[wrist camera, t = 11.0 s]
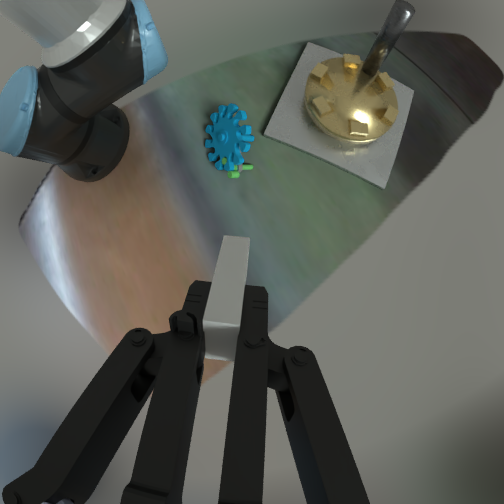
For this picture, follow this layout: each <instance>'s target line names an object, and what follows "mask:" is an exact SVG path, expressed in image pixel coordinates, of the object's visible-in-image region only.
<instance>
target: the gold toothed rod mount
mask: <svg viewBox="0 0 504 504" xmlns="http://www.w3.org/2000/svg"><path fill="white" fill-rule="evenodd" d="M414 13H415V9H414V7H413V6H412V5H411V4H409V3H408V2H406V1H404V0H396V1H395V3H394V5H393V7H392V9H391V11H390V13H389V15H388V17H387V19H386V21H385V23H384V25H383V27H382V28H381V30H380V32H379V34H378V36H377V38H376V40H375V42H374V44H373V46H372V48H371V50H370V52H369V54H368V56H367V58H366V60H365V62H363V61H361V60H360V56H357V55H351V54H344V55H343V57H336V58H331V59H327V60H325V61H323V62H321V63H319V62H318V64H317V65H316V66H315V67H314V68H313V70H312V71H311V72H310V74H309V76H308V78H307V82H306V87H305V92H304V100H305V105H306V109H307V111H308V114H309V115H310V117H311V119H312V120H313V122H314V123H315V124H316V125H317V126H318V127H319V128H320V129H321V130H322V131H323V132H324V133H326V134H327V135H329V136H331V137H332V138H334V139H337V140H339V141H342V142H345V143H350V144H365V143H370V142H372V141H375V140H377V139H378V138H380V137H381V136H382V135H384V134H385V133H386V132H387V131H388V130H389V129H390V128H391V127H392V126H393V124H394V122H395V120H396V118H397V115H398V113H399V111H398V101H397V97H396V94H395V91H394V89H393V87H394V85H395V84H394V82H393V81H392V80H391V78H390V77H389V75H388V74H387V73H386V72H384V73H381V72H379V71H378V70H379V69H380V67H381V65H382V64H383V62H384V61H385V59H386V58H387V56H388V54H389V53H390V51H391V50H392V48H393V47H394V45H395V43H396V42H397V40H398V39H399V37H400V35H401V34H402V32H403V31H404V29H405V28H406V26H407V24H408V23H409V21H410V20H411V18H412V16H413V15H414Z"/></svg>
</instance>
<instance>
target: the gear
mask: <svg viewBox="0 0 504 504" xmlns="http://www.w3.org/2000/svg"><path fill="white" fill-rule="evenodd" d="M218 110H219V113H212V114H211V116H210V118H211V120H212V122H213V125H214V126H213V125H207V127H206V130H205V131H206V133H209V134H210V135H211V136H212V139H213V140H206V141H205V147H206V148H212V147H214V148H215V153H209V154H208V157H209V160H210V161H216V160H217V158H218V156H219V155H220V160H219V161H217V162H216V163H215V167H216V168H217V169H218V170H223V169H224V170H226V171H229V172H228V178H238V177H239V173H240V172H241V171H242V170H246V169H253V165H242V163H244V158H243V157H242V155H241V152H248V151H249V149H250V146H251V145H250V143H248V142H253V141H254V136H253V135H250V134H251V126H250V125H243V126H241V127H240V126H239V125H238V122H239V120H246V119H247V115H246V112H245V111H241V110H239V111H238V106H237V105H235V104H231V103H230V104H229V106H224V105H220V106H219V108H218ZM237 111H238V112H237ZM235 112H237V114H236V116H235V117H234V118H232V116H233V114H234V113H235ZM226 113H227V114H226ZM241 133H242V134H243V135H241ZM245 141H248V142H245Z"/></svg>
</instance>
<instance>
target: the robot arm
mask: <svg viewBox="0 0 504 504" xmlns="http://www.w3.org/2000/svg"><path fill="white" fill-rule="evenodd" d="M0 15H1V16H2V17H4V18H5V19H7V20H8V21H9V22H11V23H12V24H13V25H15V26H16V27H17V28H19V29H20V30H21V31H23V32H24V33H26V34H27V35H28V36H30V37H31V38H32V39H34V40H35V41H37V42H38V43H39V44H40V45H41V46H42V57H41V58H42V63H43V65H42V66H41V67H39V68H38V69H36V68H35V67H34V66H25V67H21V68H20V69H18V70H17V71H16V72H15V73H14V74H13V75H12V76H11V78H10V79H9V80H8V82H7V83H6V85H5V87H4V88H3V91H2V92H1V94H0V151H2V152H6V153H9V154H11V155H12V156H17V157H22V158H27V159H32V160H37V161H42V162H46V163H51V164H56V165H58V166H59V167H60V168H61V169H62V170H63V171H64V172H65V173H66V174H68V175H69V176H70V177H71V178H73V179H76V180H79V181H84V182H94V181H97V180H100V179H102V178H103V177H105V176H106V175H108V174H109V173H110V172H111V171H112V170H113V169H114V168H115V167H116V166H117V164H118V163H119V162H120V160H121V158H122V156H123V155H124V152H125V150H126V147H127V144H128V140H129V123H128V120H127V117H126V115H125V114H124V112H123V111H122V110H121V109H119V108H118V107H116V106H115V105H113V104H112V103H113V102H115V101H117V100H118V99H120V98H121V97H123V96H124V95H126V94H127V93H129V92H131V91H132V90H134V89H136V88H137V87H139V86H141V85H142V84H145V83H146V82H147V81H148V80H149V79H151V78H152V77H153V76H155V75H157V74H158V73H160V72H161V71H163V70H164V69H165V67H166V66H167V63H168V57H167V53H166V51H165V48H164V45H163V43H162V41H161V38H160V36H159V33H158V31H157V29H156V27H155V25H154V22H153V20H152V17H151V15H150V12H149V10H148V8H147V6H146V3H145V1H144V0H129V1H128V0H0ZM249 243H250V238H247V237H237V236H226V235H224V238H223V242H222V245H221V249H220V253H219V257H218V261H217V265H216V269H215V273H214V277H213V280H212V282H206V281H198V280H195V281H194V282H193V283H192V284H191V285H190V287H189V290H188V293H187V296H186V299H185V302H184V305H183V308H182V310H179V311H176V312H175V313H173V314H172V315H171V316H170V318H169V323H170V329H171V331H168V332H165V333H160V334H151V332H150V331H148V330H147V329H144V328H135V329H132V330H130V331H129V332H128V333H127V334H126V335H125V336H124V338H123V339H122V340H121V341H120V343H119V344H118V345H117V347H116V348H115V349H114V351H113V352H112V353H111V355H110V356H109V357H108V359H107V360H106V361H105V363H104V364H103V366H102V367H101V368H100V370H99V371H98V373H97V374H96V375H95V377H94V378H93V379H92V381H91V382H90V384H89V385H88V387H87V388H86V389H85V390H84V392H83V393H82V395H81V396H80V398H79V399H78V400H77V402H76V403H75V405H74V406H73V408H72V409H71V411H70V412H69V413H68V415H67V417H66V418H65V420H64V421H63V422H62V424H61V425H60V427H59V428H58V430H57V431H56V433H55V434H54V436H53V437H52V439H51V441H50V442H49V444H48V445H47V447H46V448H45V450H44V451H43V453H42V455H41V456H40V458H39V460H38V461H37V463H36V464H35V466H34V467H33V468H32V469H30V470H29V471H28V472H26V473H25V474H23V475H21V476H20V477H19V478H17V479H15V480H14V481H12V482H11V483H9V484H8V485H6V486H5V487H4V488H3V492H2V497H3V501H4V503H5V504H84V503H85V502H86V501H87V500H88V499H89V498H90V496H91V495H92V493H93V492H94V490H95V488H96V486H97V485H98V483H99V481H100V479H101V478H102V476H103V474H104V472H105V471H106V469H107V467H108V466H109V464H110V462H111V460H112V459H113V457H114V455H115V453H116V452H117V450H118V448H119V447H120V445H121V443H122V441H123V440H124V438H125V436H126V435H127V433H128V431H129V429H130V428H131V426H132V424H133V423H134V421H135V419H136V418H137V416H138V414H139V413H140V410H141V409H142V407H143V406H144V404H145V402H146V401H147V399H148V397H149V396H150V394H151V392H152V391H153V394H152V397H151V401H150V405H149V408H148V412H147V416H146V420H145V424H144V428H143V431H142V435H141V440H140V444H139V447H138V452H137V456H136V460H135V465H134V469H133V473H132V478H131V481H130V483H129V484H128V485H127V486H126V487H125V489H124V491H123V494H122V498H121V503H120V504H182V492H183V486H184V480H185V473H186V467H187V460H188V454H189V448H190V442H191V437H192V431H193V424H194V419H195V413H196V407H197V402H198V397H199V391H200V386H201V380H202V375H203V370H204V363H203V361H204V356H205V358H210V359H218V360H226V361H235V362H234V371H233V379H232V388H231V397H230V405H229V413H228V422H227V431H226V439H225V448H224V457H223V465H222V475H221V484H220V492H219V501H218V504H262V495H263V477H264V457H265V456H264V455H265V435H266V434H265V433H266V410H267V387H269V388H272V389H274V390H275V391H276V395H277V399H278V402H279V406H280V409H281V413H282V417H283V421H284V424H285V428H286V431H287V435H288V438H289V442H290V446H291V449H292V453H293V456H294V460H295V463H296V467H297V470H298V474H299V478H300V481H301V484H302V488H303V491H304V495H305V498H306V502H307V504H370V502H369V500H368V497H367V494H366V491H365V488H364V485H363V483H362V480H361V477H360V474H359V471H358V469H357V466H356V463H355V460H354V458H353V455H352V453H351V449H350V447H349V444H348V441H347V439H346V436H345V433H344V431H343V428H342V425H341V423H340V420H339V418H338V415H337V412H336V409H335V407H334V404H333V402H332V399H331V397H330V394H329V391H328V389H327V386H326V383H325V381H324V378H323V376H322V373H321V370H320V368H319V365H318V363H317V360H316V358H315V355H314V354H313V352H312V351H311V350H309V349H308V348H306V347H303V346H294V347H291V348H289V349H285V348H283V347H280V346H278V345H276V344H274V343H273V342H272V341H271V340H270V339H269V336H268V332H267V330H268V293H267V291H266V289H265V287H260V286H250V285H245V284H246V275H247V264H248V253H249ZM153 389H154V390H153Z"/></svg>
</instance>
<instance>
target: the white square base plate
mask: <svg viewBox="0 0 504 504" xmlns="http://www.w3.org/2000/svg"><path fill="white" fill-rule="evenodd" d="M336 57H343V55H341V54H339V53H337V52H334V51H332V50H329V49H326V48H324V47H321V46H318V45H315V44H313V43H310V42H308V44H307V46H306V48H305V50H304V52H303V54H302V56H301V58H300V60H299V62H298V64H297V66H296V68H295V70H294V72H293V74H292V76H291V78H290V80H289V82H288V84H287V86H286V88H285V90H284V92H283V94H282V96H281V98H280V100H279V102H278V105H277V107H276V109H275V111H274V113H273V115H272V117H271V119H270V122H269V124H268V126H267V128H266V130H265V132H264V137H266V138H269V139H272V140H274V141H277V142H279V143H282V144H284V145H287V146H289V147H292V148H294V149H297V150H299V151H301V152H304V153H306V154H308V155H311V156H313V157H315V158H317V159H320V160H322V161H324V162H326V163H328V164H331V165H333V166H335V167H337V168H339V169H341V170H343V171H345V172H347V173H350V174H352V175H354V176H356V177H358V178H360V179H362V180H364V181H366V182H368V183H369V184H371V185H373V186H375V187H377V188H379V189H381V190H383V189H385V186H386V184H387V181H388V178H389V175H390V172H391V169H392V166H393V163H394V160H395V157H396V154H397V151H398V147H399V144H400V141H401V138H402V134H403V131H404V127H405V124H406V120H407V117H408V113H409V109H410V105H411V101H412V97H413V93H414V91H413V90H412V89H410V88H408V87H407V86H405V85H403V84H401V83H400V82H398V81H396V80H394V79H392V78H391V80H392V81H393V82H394V84H395V85H394V87H393V89H394V91H395V94H396V97H397V101H398V111H399V113H398V115H397V118H396V120H395V122H394V124H393V126H392V127H391V128H390V129H389V130H388V131H387V132H386V133H385V134H384V135H382V136H381V137H380V138H378V139H377V140H375V141H372V142H370V143H365V144H350V143H345V142H342V141H339V140H337V139H334V138H332V137H331V136H329V135H327V134H326V133H324V132H323V131H322V130H321V129H320V128H319V127H318V126H317V125H316V124H315V123H314V122H313V120H312V119H311V117H310V115H309V114H308V111H307V109H306V105H305V100H304V92H305V87H306V82H307V78H308V76H309V74H310V72H311V71H312V70H313V68H314V67H315V66H316V65H317V64H318V62H319V63H321V62H323V61H325V60H327V59H331V58H336Z"/></svg>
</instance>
